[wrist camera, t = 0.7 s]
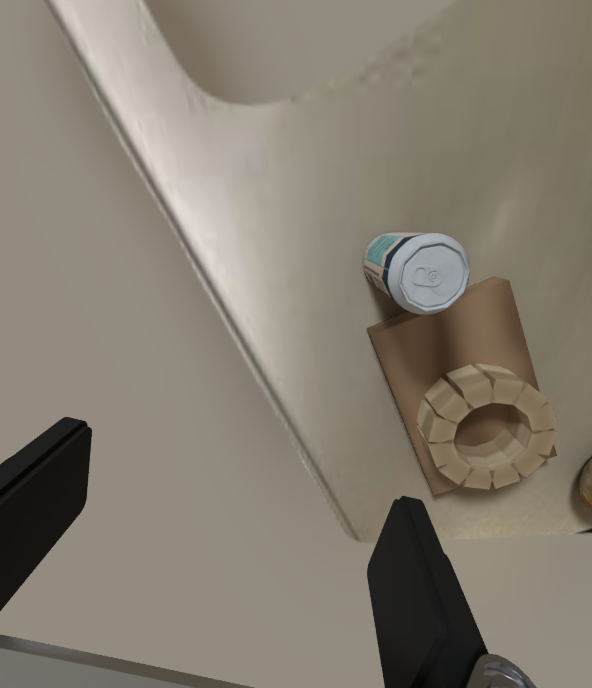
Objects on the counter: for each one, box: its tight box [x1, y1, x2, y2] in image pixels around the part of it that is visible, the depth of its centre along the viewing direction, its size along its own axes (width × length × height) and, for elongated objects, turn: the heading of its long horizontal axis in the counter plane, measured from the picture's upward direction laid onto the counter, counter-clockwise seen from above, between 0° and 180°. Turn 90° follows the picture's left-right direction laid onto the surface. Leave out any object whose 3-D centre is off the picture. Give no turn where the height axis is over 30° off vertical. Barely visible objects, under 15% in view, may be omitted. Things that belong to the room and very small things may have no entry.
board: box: [367, 277, 558, 495], centre depth 33 cm, size 12×18×6 cm, turn 24°
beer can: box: [363, 232, 470, 315], centre depth 26 cm, size 5×5×12 cm
